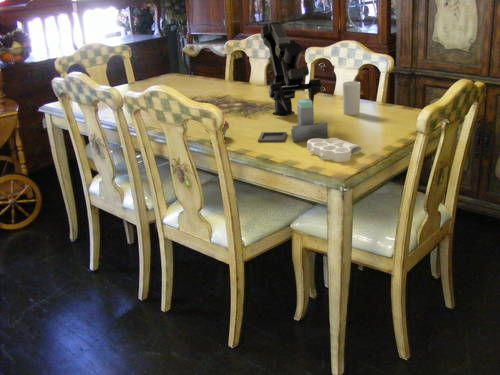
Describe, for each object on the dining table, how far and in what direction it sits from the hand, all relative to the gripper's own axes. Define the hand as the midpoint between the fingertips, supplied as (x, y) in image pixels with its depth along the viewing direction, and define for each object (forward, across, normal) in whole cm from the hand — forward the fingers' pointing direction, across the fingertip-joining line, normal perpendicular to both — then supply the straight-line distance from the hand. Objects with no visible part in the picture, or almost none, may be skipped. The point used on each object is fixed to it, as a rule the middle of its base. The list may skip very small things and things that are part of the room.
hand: (299, 108), depth 215 cm
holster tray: (+10, -12, +2) cm, 15 cm away
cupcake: (+5, -30, +7) cm, 31 cm away
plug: (+11, 0, 0) cm, 11 cm away
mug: (-6, +24, +19) cm, 32 cm away
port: (+11, 0, 0) cm, 11 cm away
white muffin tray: (+26, +3, -13) cm, 29 cm away
